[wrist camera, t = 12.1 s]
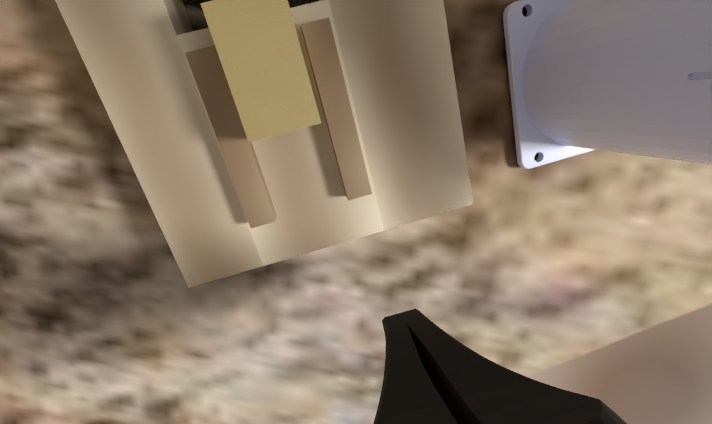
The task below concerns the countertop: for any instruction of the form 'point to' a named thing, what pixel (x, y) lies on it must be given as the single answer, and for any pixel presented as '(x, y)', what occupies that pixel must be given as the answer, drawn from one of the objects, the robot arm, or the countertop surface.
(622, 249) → the countertop surface
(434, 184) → the dock plate
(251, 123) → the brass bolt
